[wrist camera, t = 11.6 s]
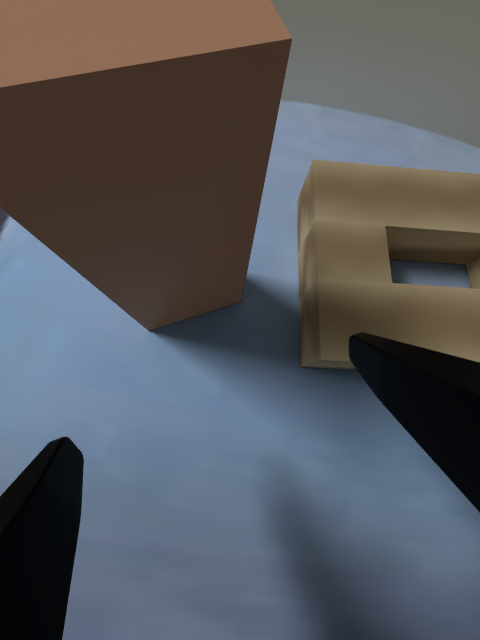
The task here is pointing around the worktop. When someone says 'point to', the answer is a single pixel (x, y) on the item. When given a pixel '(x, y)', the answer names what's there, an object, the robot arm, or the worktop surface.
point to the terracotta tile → (142, 141)
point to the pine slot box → (385, 259)
